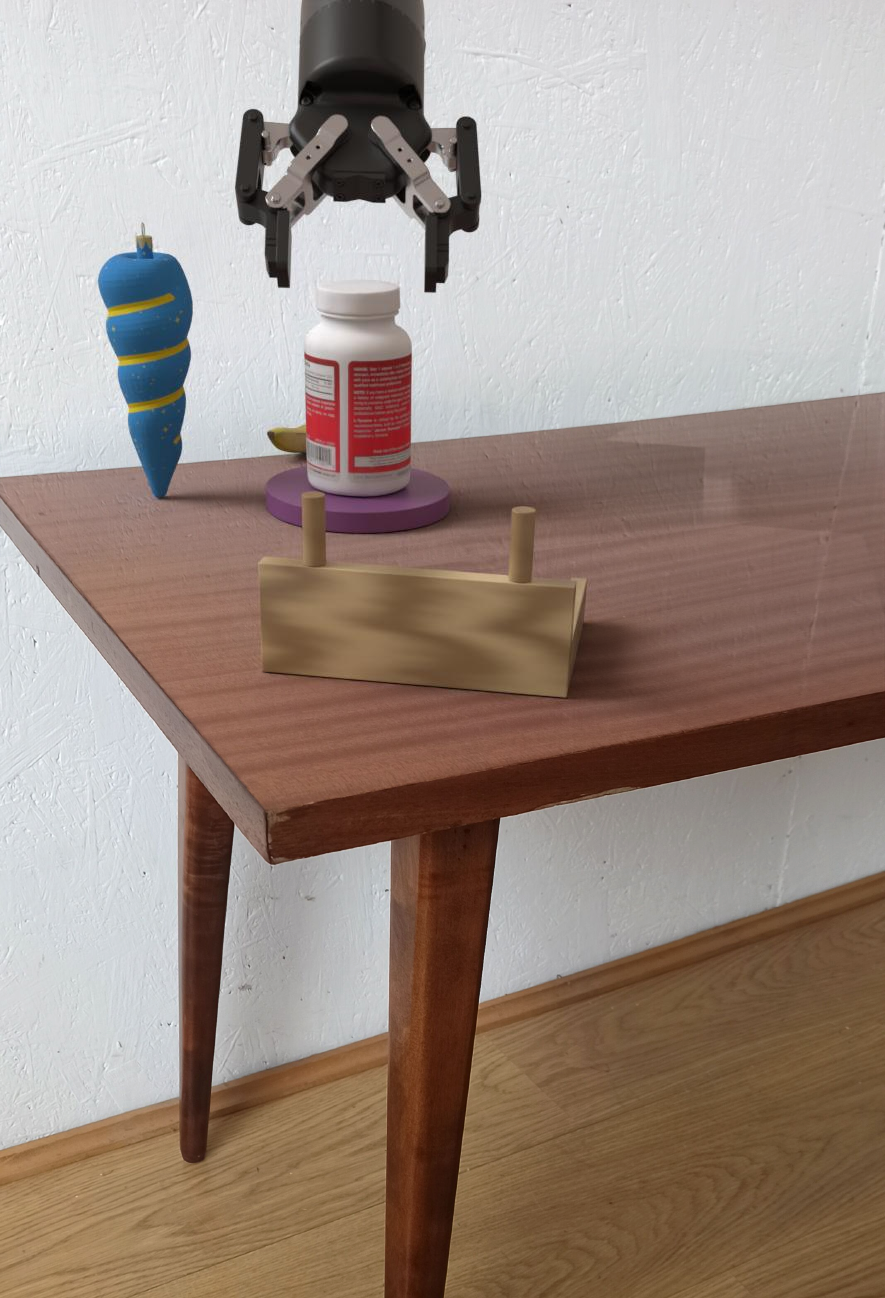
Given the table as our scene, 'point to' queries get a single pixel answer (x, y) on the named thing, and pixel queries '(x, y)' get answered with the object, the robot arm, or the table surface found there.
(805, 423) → the table surface
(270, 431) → the banana
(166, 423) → the ornament
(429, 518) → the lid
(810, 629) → the table surface
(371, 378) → the pill bottle
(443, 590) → the rack
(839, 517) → the table surface
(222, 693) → the table surface
